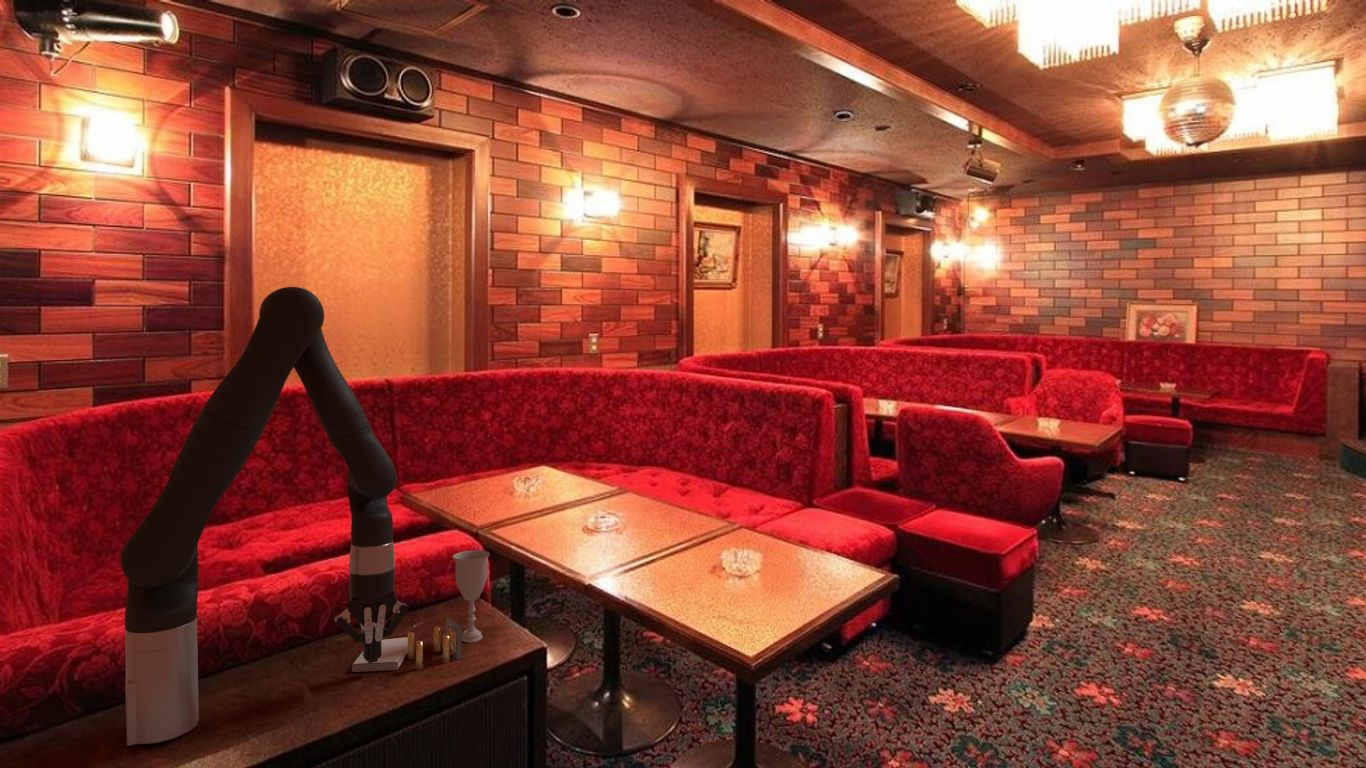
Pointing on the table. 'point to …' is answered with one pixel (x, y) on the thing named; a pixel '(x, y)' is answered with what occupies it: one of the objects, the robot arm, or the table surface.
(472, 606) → the chalice
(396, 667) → the external hard drive
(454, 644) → the candles
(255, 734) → the table surface
